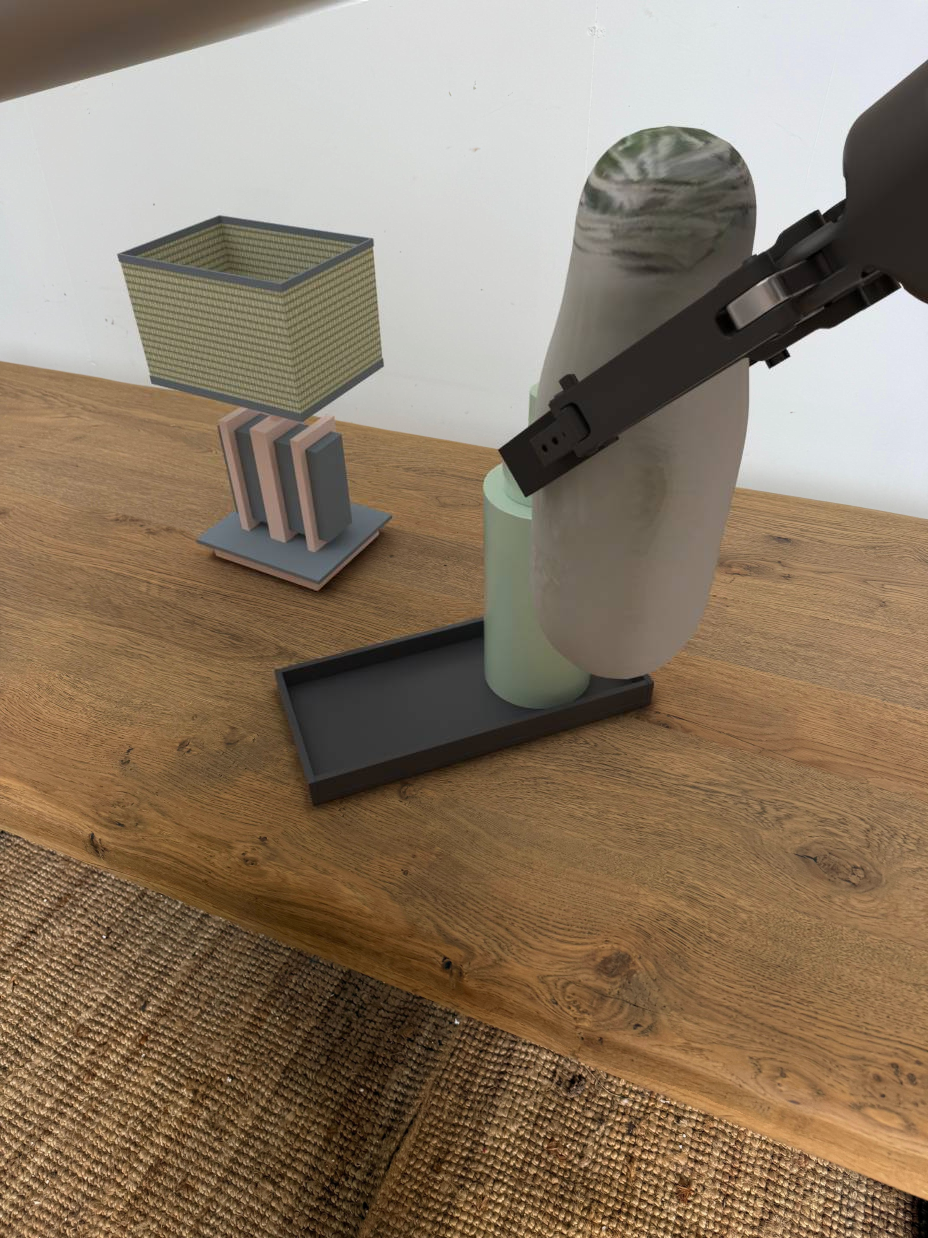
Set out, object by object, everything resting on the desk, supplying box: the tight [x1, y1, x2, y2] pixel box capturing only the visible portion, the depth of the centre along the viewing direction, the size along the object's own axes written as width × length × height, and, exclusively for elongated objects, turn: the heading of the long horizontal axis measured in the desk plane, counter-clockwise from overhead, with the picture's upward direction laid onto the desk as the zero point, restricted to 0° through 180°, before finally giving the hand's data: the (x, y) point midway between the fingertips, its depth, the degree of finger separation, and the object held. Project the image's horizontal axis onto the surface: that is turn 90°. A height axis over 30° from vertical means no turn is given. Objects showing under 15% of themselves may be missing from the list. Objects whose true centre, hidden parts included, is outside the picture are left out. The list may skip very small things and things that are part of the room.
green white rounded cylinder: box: [530, 125, 758, 679], centre depth 43 cm, size 10×10×28 cm
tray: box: [273, 615, 655, 806], centre depth 78 cm, size 31×14×3 cm, turn 111°
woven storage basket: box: [116, 214, 393, 592], centre depth 88 cm, size 18×14×33 cm
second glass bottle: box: [482, 381, 592, 709], centre depth 72 cm, size 10×10×28 cm
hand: (589, 432), depth 45 cm, fingers closed on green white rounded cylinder, 11 cm apart
